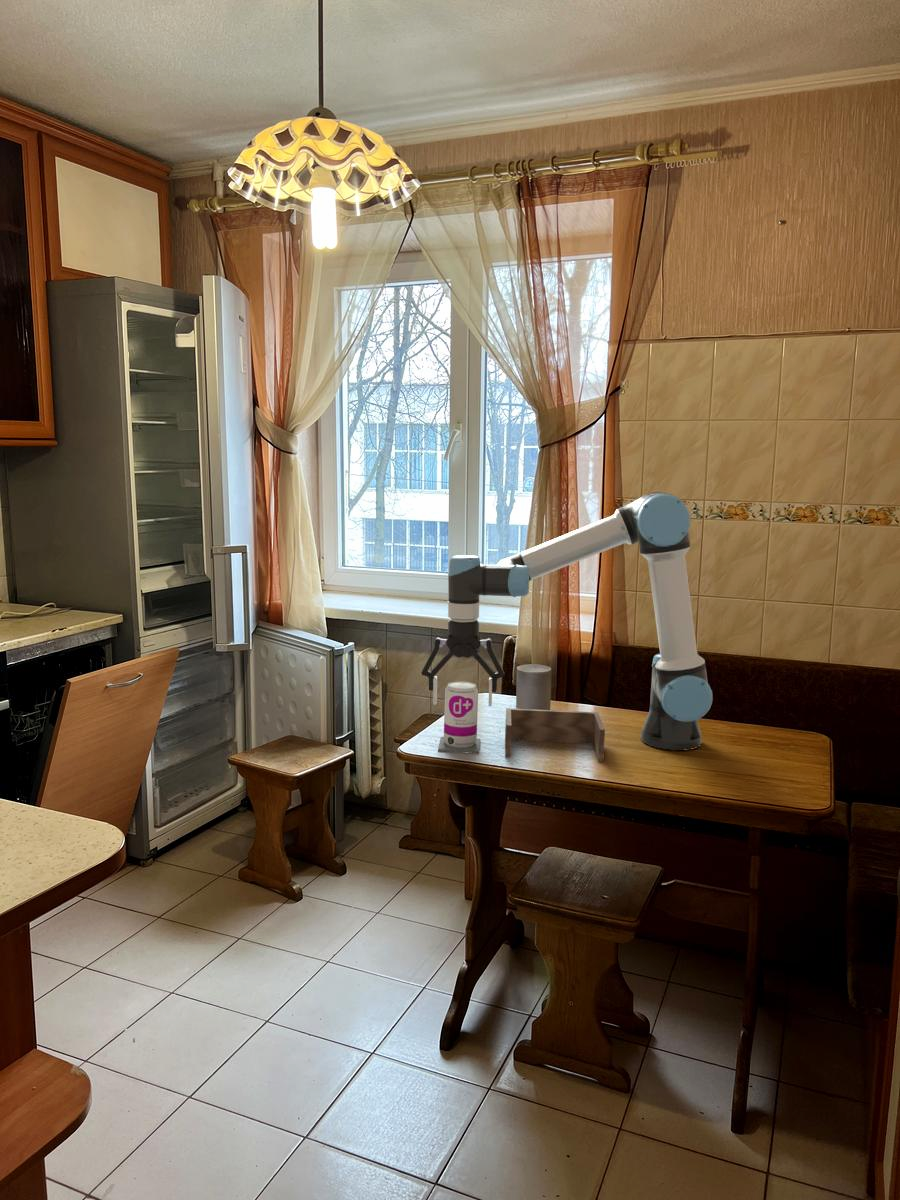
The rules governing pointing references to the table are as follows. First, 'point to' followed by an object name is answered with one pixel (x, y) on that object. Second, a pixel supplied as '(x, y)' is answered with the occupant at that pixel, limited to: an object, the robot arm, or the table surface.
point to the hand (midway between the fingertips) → (462, 704)
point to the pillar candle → (533, 687)
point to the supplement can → (460, 714)
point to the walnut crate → (555, 728)
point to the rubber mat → (445, 748)
